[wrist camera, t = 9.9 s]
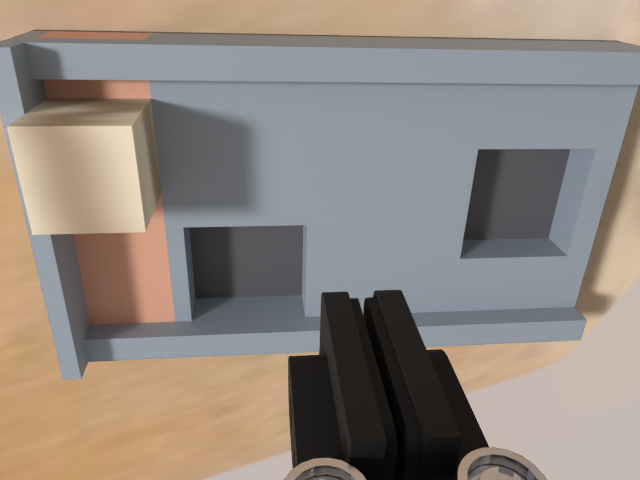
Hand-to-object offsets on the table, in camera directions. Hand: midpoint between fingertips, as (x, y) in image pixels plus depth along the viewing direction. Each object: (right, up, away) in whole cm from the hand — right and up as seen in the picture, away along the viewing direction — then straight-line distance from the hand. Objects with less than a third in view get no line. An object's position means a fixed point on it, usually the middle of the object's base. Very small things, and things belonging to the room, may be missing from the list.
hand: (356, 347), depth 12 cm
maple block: (-12, +7, +17) cm, 22 cm away
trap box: (0, +5, +22) cm, 23 cm away
